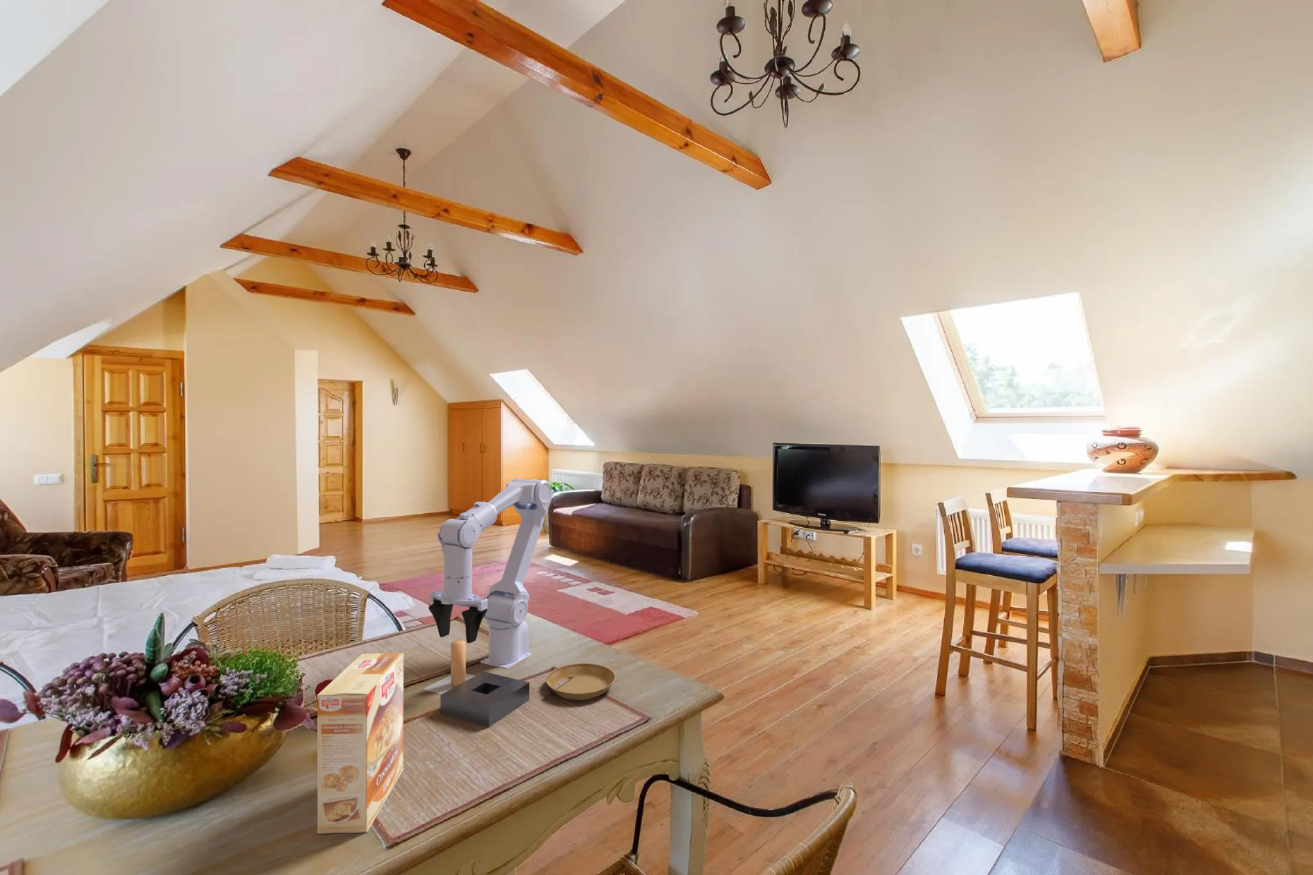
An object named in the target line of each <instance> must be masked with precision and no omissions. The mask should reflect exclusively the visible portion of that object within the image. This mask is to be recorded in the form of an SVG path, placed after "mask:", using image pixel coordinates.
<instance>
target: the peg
mask: <svg viewBox="0 0 1313 875" xmlns="http://www.w3.org/2000/svg"><path fill="white" fill-rule="evenodd" d="M466 644H467V641H466V640H463V639H461V640H460V639H459V640H455V641H452V642H451V643H450V675H451V686H452V687H456V686H457V685H459V684H461V683H463V682H465V681H466V673H467V672H466V671H467V670H466V669H467V667H466V666H467V665H466V664H467V663H466V662H467V661H466V660H467V648H466V647H467V646H466Z"/></svg>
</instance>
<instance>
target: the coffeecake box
mask: <svg viewBox="0 0 1313 875" xmlns="http://www.w3.org/2000/svg"><path fill="white" fill-rule="evenodd" d="M404 654H405V653H403V652H384V653H383V652H382V653H372V652H371V653H361V654H359V656H358V657H356V658H355V660H353V661H352V662H351V663H350V664H349V665H348V666H347V667H346V668H345V669H344V670H342V671H341V672H340V674H338V675H337V676H336V677H335V678H334V679H333V680H332V681H331V682H330V683H329V684H327V686H325V687H324V688H323V689H322V690H321V691H320V692H319V693H318V694H316V698H317V700H316V701H317V705H316V706H317V715H316V717H317V724H316V725H317V734H316V735H317V737H316V738H317V741H316V742H317V746H316V748H317V750H316V751H317V752H316V753H317V755H316V756H317V757H316V758H317V767H316V768H317V769H316V770H317V773H316V774H317V776H316V777H317V782H316V783H317V786H316V787H317V790H316V791H317V796H316V797H317V799H316V800H317V820H316V821H317V825H316V828H317V830H316V833H317V835H320V834H322V835H323V834H354V833H355V834H358V833H368V832H369V830H370V828H371V827H372V824H373V823H374V822H375V820H376V818H377V816H378V814H379V813H380V811H381V810H382V808H383V806H384V805H385V802H386V801H387V800H388V797H389V796H390V794H391V792H392V791H393V788H394V787H395V786H396V784H397V782H398V781H399V778H400V777H401V775H402V773H403V771H404V660H405V659H404V657H405V655H404Z"/></svg>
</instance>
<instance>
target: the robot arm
mask: <svg viewBox="0 0 1313 875" xmlns="http://www.w3.org/2000/svg"><path fill="white" fill-rule="evenodd" d="M505 484H506V485H505V488H503V489H502V490H501V491H500V492H499V493H498V494H497V495H495V496H494V497H493V498H491V500H489V501H488V502H486V501H476V502H474V503H473V506H472V507H471V508H469V509H468V510H466V511H465V512H461V513H460V514H459V516H457V517H456V518H450V519H449V518H448V519H447V520H445V521H444V522H443V523H442V524H441V526H440V527H439V532H438V533H437V540H438V542H439V543H440V545H441V552H442V554H443V591H442V590H434V591H430V592H429V602H431V603H432V604H430V605H428V610H429V612H430V614H431V615H432V616H433V618H434V622H435V625H436V627H437V632H438V634H439V638H444V637H447V636H449V635H450V632H451V631H450V630H451V619H452V618H451V617H452V612H453V607H454V606H459V607H465V608H468V609H466V610H463V611H461V615H462V618H463V622H464V626H465V642H466V644H471V643H473V642H476V641H477V637H478V635H479V634H478V633H479V629H480V626H481V623H482V621H483V620H484V619H485V621H486V622H485V623H486V625H488V657H485V658H483V659H481V660H480V663H481V664H484V665H489V666H493V667H497V668H502V669H509V668H511V667H513V666H514V665H516V664H518V663H520V662H521V661H523V660H525V659H526V658H528V657H530V656H532V654H533V653H532V652H530V646H529V645H530V640H529V638H530V630H529V626H528V623H527V622H526V620H525V619H526V618H527V615H528V611H529V610H528V609H529V600H530V594H529V592H528V591H527V589H526V588H525V587H524V583H525V581H526V577H527V575H528V571H529V568H530V566H531V561H532V559H533V555H534V552H535V549H536V548H537V547H536V546H537V543H538V540H539V538H540V534H541V531H542V528H543V524H544V522H545V518H546V516H547V513H548V511H549V508H550V505H551V502H552V499H553V496H554V495H553V491H552V487H551V484H550V482H549V481H548V480H546V479H541V480H539V479H526V478H525V479H523V478H518V477H516V478H512V479H511V480H510V481H508V482H506V483H505ZM510 507H513V508H514V510H515V512H516V514H518V515H519V516H520V518H521V520H520V524H519V526H518V527H519V528H518V530H517V533H516V536H515V539H514V541H513V544H512V548H511V550H510V554H509V556H508V559H507V562H506V565H505V568H504V572H503V574H502V577H501V579H500V580H499V581H497V582H495V583H494V584H492V585H491V586H490V587H489V591H488V593H486V594H487V595H486V596H485V597H484V598H483V597H481V596H478V595H476V594H473V547H474V546H475V544H477V541H478V539H479V537H480V536H481V535H482V533H483V532H484V531H485V530H486V529H488V528H490V527H491V526H492V525H494V524H495V523H496V522H497V518H498V516H497V515H499V514H500V513H503V512H504V511H505V510H507V509H508V508H510Z"/></svg>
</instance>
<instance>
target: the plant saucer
mask: <svg viewBox="0 0 1313 875" xmlns="http://www.w3.org/2000/svg"><path fill="white" fill-rule="evenodd" d="M570 677H571V678H570ZM566 678H570V679H568V680H567V681H566V682H564V683H563V684H561V685H559V687H557V688H555V686H556V685H557V683H559V682H560V681H562V680H564V679H566ZM615 681H616V674H615V672H614V671H613V670H612V669H610V667H607V666H604V665H601V664H598V663H597V664H596V663H589V662H588V663H586V662H585V663H583V662H581V663H571V664H567V665H563V666H560V667H557V668H555V669H554V670H552V671H551V672H550V673H548V675H547V676H546V678H545V682H546V685H547V686H548V687H549V688H550V689H551V691H552V692H554V693H555V694H556V695H558V696H559V697H561V698H563V699H567V700H571V701H585V700H586V701H587V700H591V699H595V698H598V697H599V696H601V695H603V694H604V693H606V692H607V691H608V690H609V688H611V686H612V685H614V682H615Z"/></svg>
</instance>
